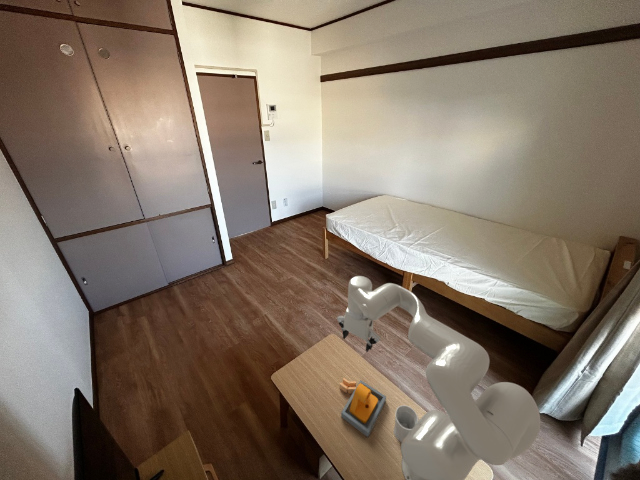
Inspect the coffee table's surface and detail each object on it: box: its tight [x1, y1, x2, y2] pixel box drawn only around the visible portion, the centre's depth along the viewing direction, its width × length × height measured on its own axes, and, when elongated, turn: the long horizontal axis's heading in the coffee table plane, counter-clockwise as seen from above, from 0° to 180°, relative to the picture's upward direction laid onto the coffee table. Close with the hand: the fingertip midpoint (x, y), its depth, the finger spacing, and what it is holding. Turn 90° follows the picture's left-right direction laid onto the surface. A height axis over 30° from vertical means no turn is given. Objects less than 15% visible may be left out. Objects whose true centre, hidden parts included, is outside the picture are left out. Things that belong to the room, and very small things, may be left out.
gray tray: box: [340, 379, 387, 438], centre depth 102 cm, size 12×16×4 cm
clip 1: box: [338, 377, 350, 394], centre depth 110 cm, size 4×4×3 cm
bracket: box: [350, 383, 378, 424], centre depth 99 cm, size 11×7×12 cm, turn 140°
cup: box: [393, 404, 420, 443], centre depth 92 cm, size 8×8×12 cm
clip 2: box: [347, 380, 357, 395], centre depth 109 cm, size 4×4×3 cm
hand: (356, 342), depth 93 cm, fingers open, 9 cm apart
